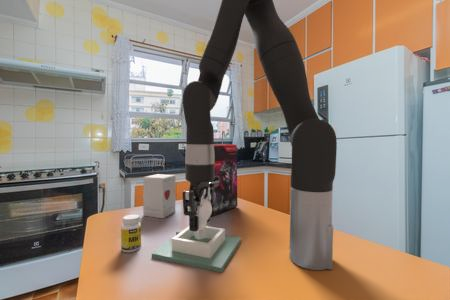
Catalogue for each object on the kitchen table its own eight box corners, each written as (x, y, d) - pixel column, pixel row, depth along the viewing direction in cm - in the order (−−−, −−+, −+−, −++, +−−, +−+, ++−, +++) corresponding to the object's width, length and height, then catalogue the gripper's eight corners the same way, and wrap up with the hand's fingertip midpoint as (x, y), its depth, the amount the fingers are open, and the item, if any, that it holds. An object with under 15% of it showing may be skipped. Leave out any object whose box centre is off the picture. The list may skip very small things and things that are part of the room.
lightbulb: (208, 245, 54) (208, 201, 54) (183, 243, 55) (183, 200, 55) (214, 235, 60) (214, 195, 60) (192, 233, 61) (192, 194, 61)
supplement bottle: (128, 254, 54) (128, 221, 54) (117, 249, 57) (117, 217, 57) (144, 247, 59) (144, 215, 58) (133, 242, 61) (133, 212, 61)
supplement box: (163, 219, 80) (162, 178, 79) (142, 216, 83) (142, 176, 82) (176, 211, 88) (176, 174, 88) (157, 209, 91) (157, 173, 91)
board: (241, 241, 62) (241, 227, 62) (221, 272, 47) (221, 254, 47) (185, 232, 68) (185, 219, 68) (151, 257, 53) (151, 241, 53)
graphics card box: (211, 217, 81) (211, 144, 80) (198, 213, 86) (198, 144, 85) (237, 207, 95) (238, 144, 94) (225, 204, 99) (225, 143, 98)
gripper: (201, 165, 49) (201, 239, 49) (223, 160, 62) (222, 218, 63) (172, 164, 51) (172, 234, 52) (199, 159, 65) (199, 215, 66)
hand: (200, 225), depth 58 cm, fingers closed on lightbulb, 6 cm apart
